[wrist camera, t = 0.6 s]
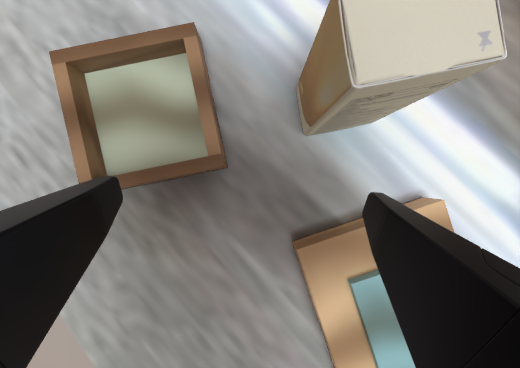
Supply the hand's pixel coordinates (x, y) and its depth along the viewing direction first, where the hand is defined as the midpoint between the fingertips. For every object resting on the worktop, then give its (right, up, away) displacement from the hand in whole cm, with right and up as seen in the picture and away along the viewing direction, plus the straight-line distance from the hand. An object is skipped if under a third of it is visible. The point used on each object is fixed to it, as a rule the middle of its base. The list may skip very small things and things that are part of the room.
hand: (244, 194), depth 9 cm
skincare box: (+7, +7, +13) cm, 16 cm away
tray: (-9, +6, +12) cm, 16 cm away
